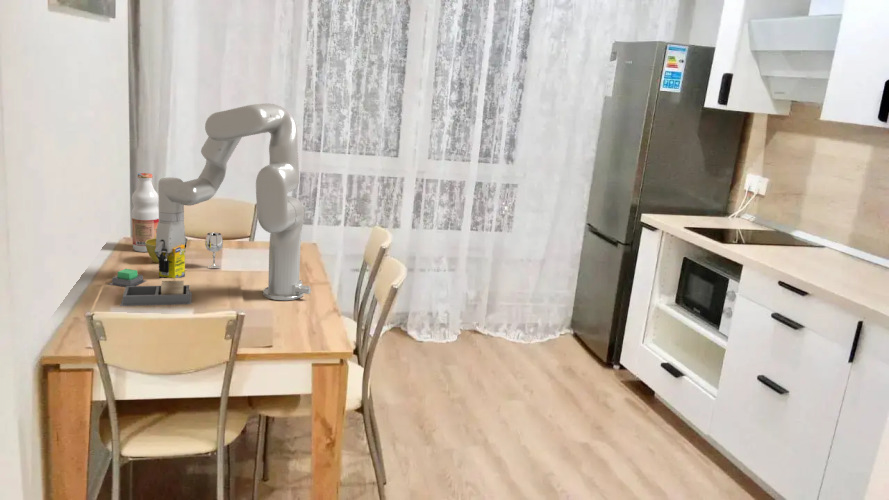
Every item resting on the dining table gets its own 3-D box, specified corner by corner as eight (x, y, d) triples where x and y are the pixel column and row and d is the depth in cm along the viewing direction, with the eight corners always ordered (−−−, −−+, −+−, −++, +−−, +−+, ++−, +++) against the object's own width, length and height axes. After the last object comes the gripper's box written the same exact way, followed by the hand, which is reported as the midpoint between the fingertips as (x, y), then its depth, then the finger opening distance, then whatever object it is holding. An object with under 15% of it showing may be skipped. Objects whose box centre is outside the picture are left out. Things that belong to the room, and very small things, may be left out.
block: (183, 294, 208) (183, 280, 207) (183, 301, 202) (183, 286, 201) (162, 295, 206) (162, 280, 205) (161, 301, 200) (160, 287, 199)
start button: (137, 277, 215) (137, 270, 214) (129, 281, 211) (129, 273, 211) (126, 276, 216) (125, 268, 215) (117, 279, 212) (117, 271, 211)
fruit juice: (128, 247, 253) (126, 172, 246) (154, 244, 260) (152, 171, 253) (138, 253, 247) (136, 176, 240) (164, 250, 254) (163, 175, 246)
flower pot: (163, 267, 235) (163, 247, 233) (139, 262, 237) (138, 242, 236) (182, 260, 244) (182, 240, 242) (158, 255, 247) (158, 236, 245)
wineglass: (209, 270, 236) (209, 236, 233) (202, 266, 240) (202, 232, 237) (225, 268, 239) (225, 235, 236) (218, 264, 244) (218, 231, 240)
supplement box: (175, 281, 222) (174, 248, 219) (158, 278, 223) (157, 246, 220) (185, 276, 228) (185, 244, 225) (169, 273, 229) (168, 242, 226)
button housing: (147, 283, 217) (147, 274, 216) (131, 291, 210) (131, 281, 209) (124, 280, 219) (124, 271, 218) (108, 287, 211) (107, 278, 210)
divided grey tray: (191, 294, 211) (191, 284, 210) (191, 307, 201) (191, 296, 200) (124, 296, 205) (123, 285, 204) (120, 309, 195) (119, 297, 194)
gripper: (176, 210, 229) (176, 260, 233) (144, 220, 212) (145, 273, 217) (196, 213, 228) (196, 263, 232) (166, 223, 211) (167, 277, 216)
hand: (171, 268), depth 225 cm, fingers open, 8 cm apart
